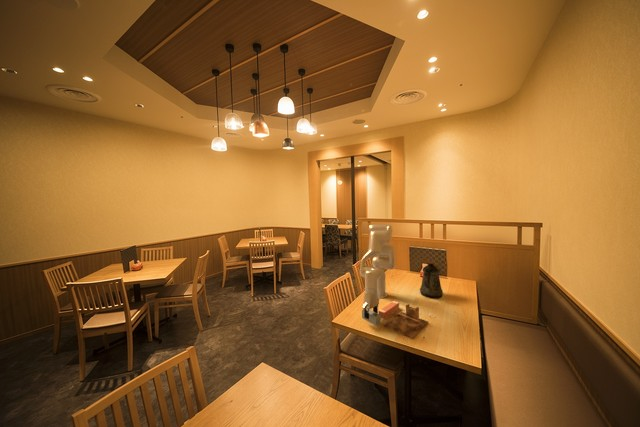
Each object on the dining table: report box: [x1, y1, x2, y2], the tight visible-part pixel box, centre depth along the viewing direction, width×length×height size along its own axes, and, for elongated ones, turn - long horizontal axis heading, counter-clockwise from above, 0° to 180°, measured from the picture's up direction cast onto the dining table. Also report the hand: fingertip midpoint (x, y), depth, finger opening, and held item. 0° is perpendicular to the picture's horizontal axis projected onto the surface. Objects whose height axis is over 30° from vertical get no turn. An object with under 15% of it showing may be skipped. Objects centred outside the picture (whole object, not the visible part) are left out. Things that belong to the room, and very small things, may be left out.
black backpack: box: [419, 263, 444, 300], centre depth 176 cm, size 16×19×25 cm
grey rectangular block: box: [361, 309, 382, 327], centre depth 142 cm, size 12×4×6 cm, turn 35°
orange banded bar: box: [378, 300, 400, 320], centre depth 151 cm, size 4×20×5 cm, turn 133°
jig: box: [383, 303, 429, 340], centre depth 136 cm, size 18×22×9 cm
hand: (371, 315), depth 141 cm, fingers open, 9 cm apart
